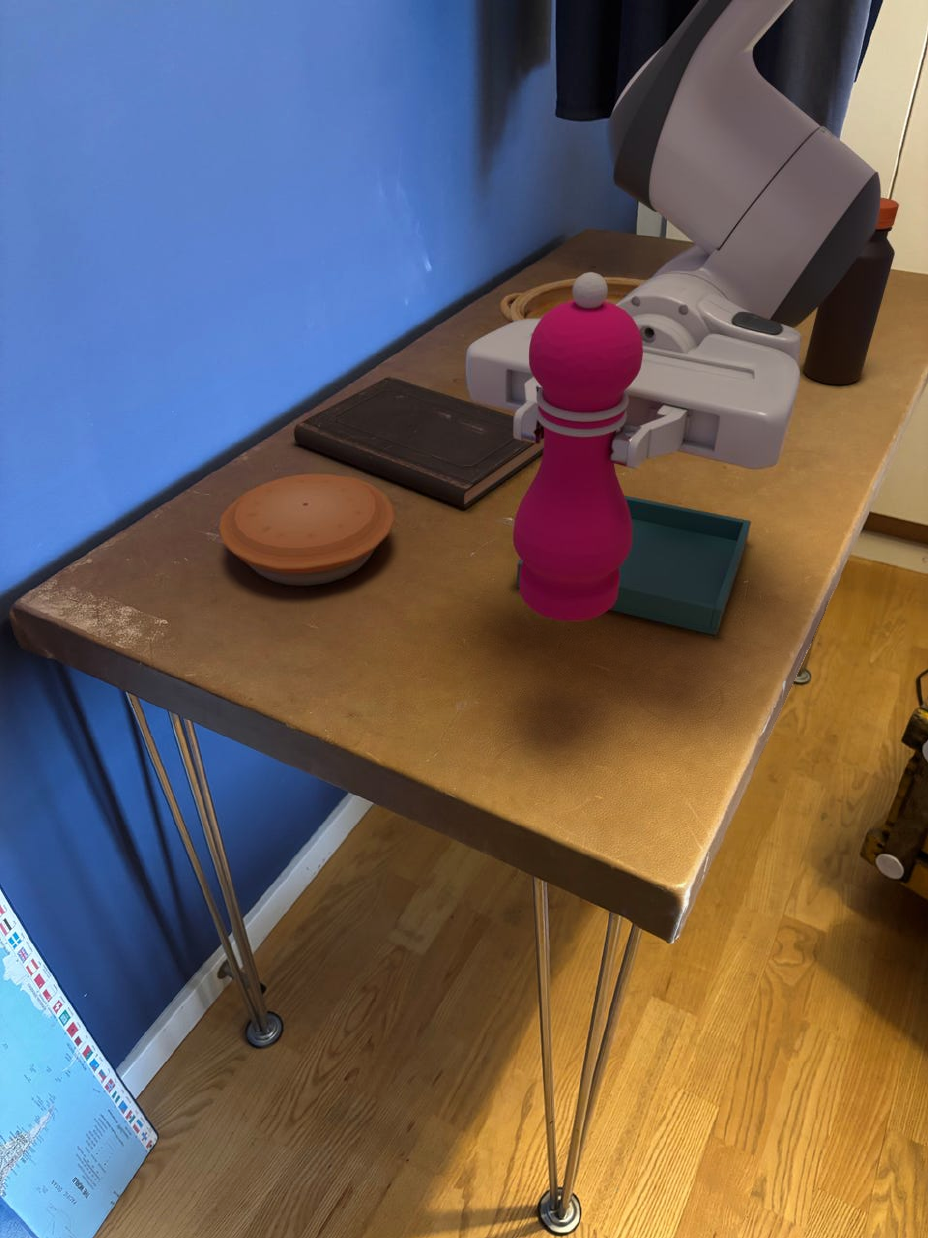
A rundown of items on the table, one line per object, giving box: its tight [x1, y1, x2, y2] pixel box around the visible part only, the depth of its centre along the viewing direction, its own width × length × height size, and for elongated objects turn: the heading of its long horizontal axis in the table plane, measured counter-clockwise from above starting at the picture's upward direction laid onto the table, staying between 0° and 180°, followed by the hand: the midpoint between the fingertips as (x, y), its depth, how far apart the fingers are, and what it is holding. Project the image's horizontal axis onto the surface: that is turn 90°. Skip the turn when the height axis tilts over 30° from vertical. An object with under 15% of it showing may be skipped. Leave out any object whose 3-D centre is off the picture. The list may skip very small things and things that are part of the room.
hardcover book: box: [293, 376, 545, 509], centre depth 98 cm, size 16×23×2 cm
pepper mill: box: [512, 271, 643, 622], centre depth 52 cm, size 7×7×20 cm
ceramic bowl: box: [499, 276, 646, 324], centre depth 111 cm, size 30×24×8 cm
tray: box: [516, 495, 752, 636], centre depth 81 cm, size 17×14×3 cm
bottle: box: [803, 197, 900, 386], centre depth 106 cm, size 7×7×20 cm
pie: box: [218, 473, 396, 587], centre depth 82 cm, size 15×16×5 cm
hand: (573, 442), depth 51 cm, fingers closed on pepper mill, 5 cm apart
